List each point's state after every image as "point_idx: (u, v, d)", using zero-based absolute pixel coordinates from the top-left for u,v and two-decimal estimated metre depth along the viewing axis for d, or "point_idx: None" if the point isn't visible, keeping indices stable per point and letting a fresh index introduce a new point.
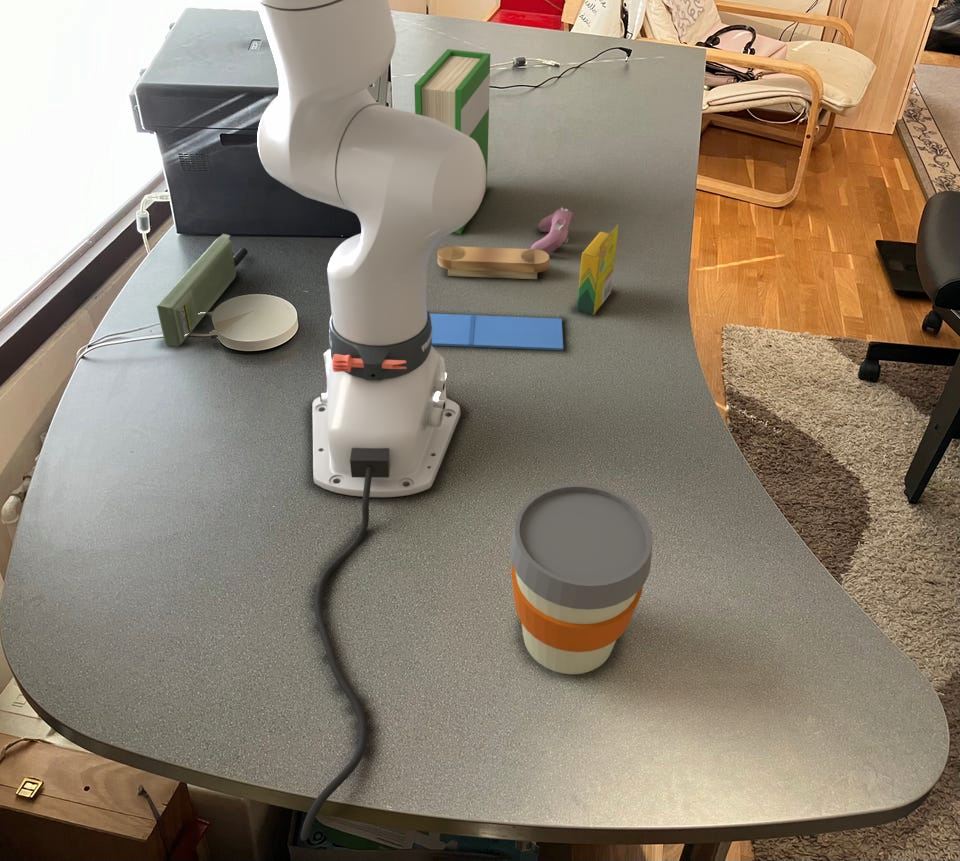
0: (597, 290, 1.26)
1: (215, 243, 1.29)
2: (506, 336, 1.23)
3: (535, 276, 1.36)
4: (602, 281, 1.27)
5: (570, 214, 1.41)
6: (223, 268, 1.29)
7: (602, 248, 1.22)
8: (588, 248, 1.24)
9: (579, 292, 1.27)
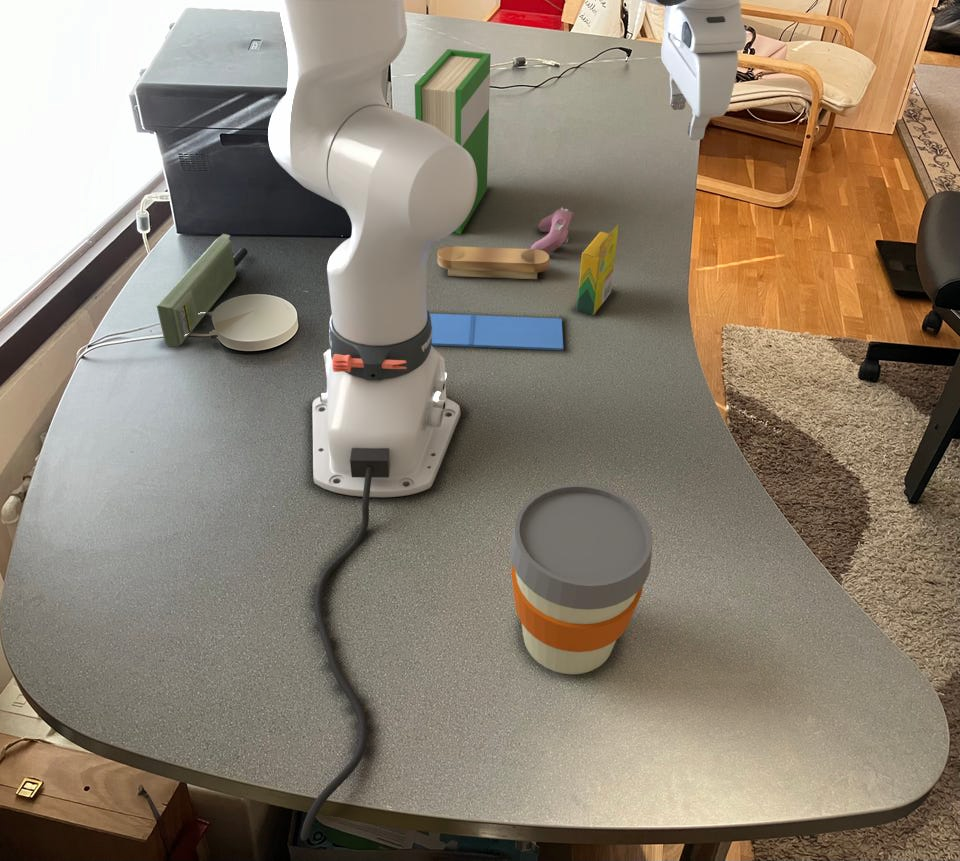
0: (597, 290, 1.26)
1: (215, 243, 1.29)
2: (506, 336, 1.23)
3: (535, 276, 1.36)
4: (602, 281, 1.27)
5: (570, 214, 1.41)
6: (223, 268, 1.29)
7: (602, 248, 1.22)
8: (588, 248, 1.24)
9: (579, 292, 1.27)
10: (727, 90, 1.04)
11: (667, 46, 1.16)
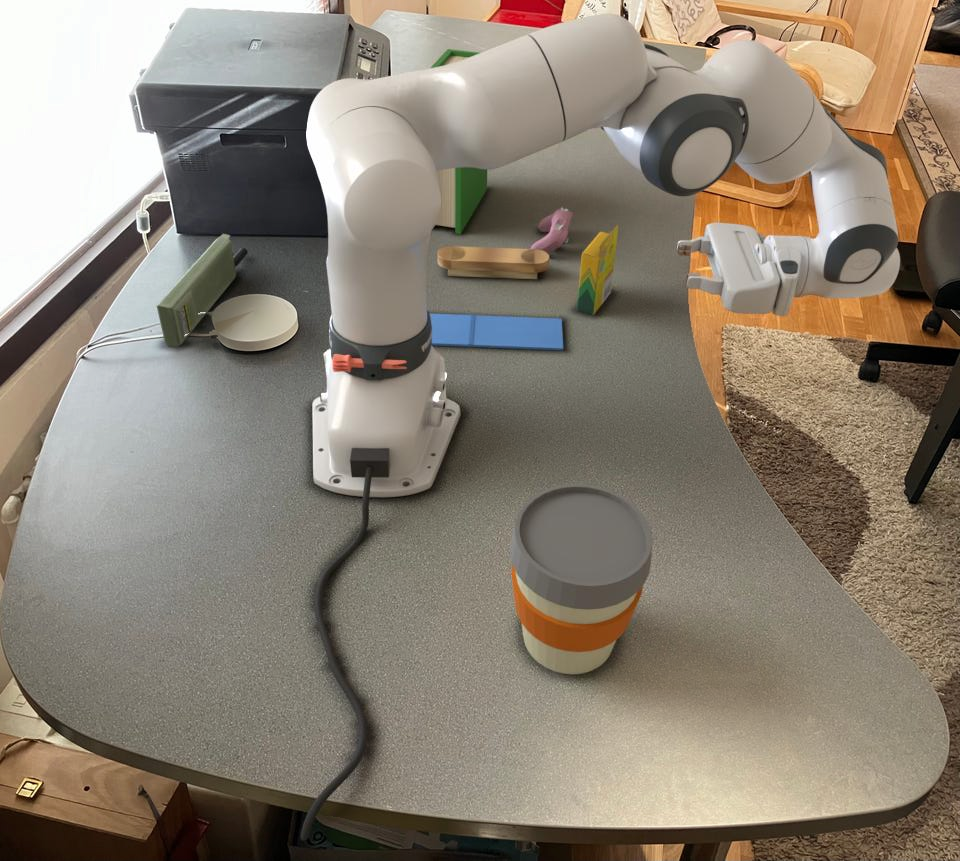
0: (597, 290, 1.26)
1: (215, 243, 1.29)
2: (506, 336, 1.23)
3: (535, 276, 1.36)
4: (602, 281, 1.27)
5: (570, 214, 1.41)
6: (223, 268, 1.29)
7: (602, 248, 1.22)
8: (588, 248, 1.24)
9: (579, 292, 1.27)
10: (750, 310, 1.20)
11: (729, 232, 1.30)
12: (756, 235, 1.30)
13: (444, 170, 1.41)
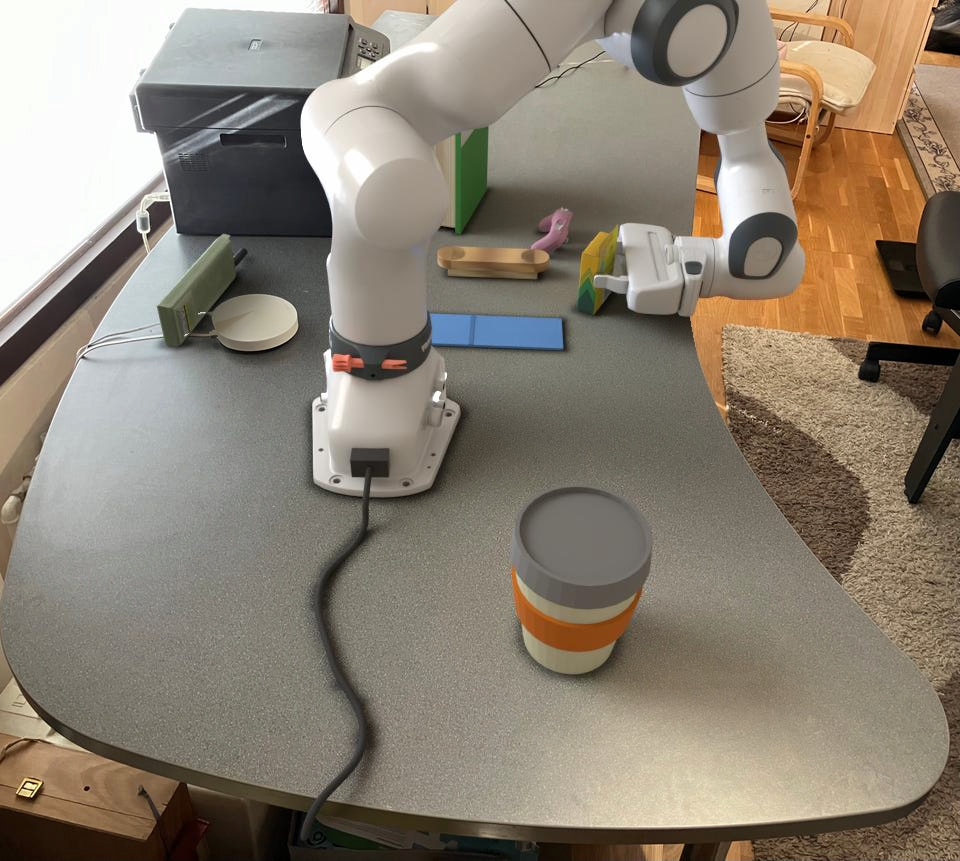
0: (597, 290, 1.26)
1: (215, 243, 1.29)
2: (506, 336, 1.23)
3: (535, 276, 1.36)
4: None
5: (570, 214, 1.41)
6: (222, 268, 1.29)
7: (602, 248, 1.22)
8: (588, 248, 1.24)
9: (579, 292, 1.27)
10: (654, 310, 1.20)
11: (641, 233, 1.31)
12: (668, 236, 1.30)
13: (444, 170, 1.41)
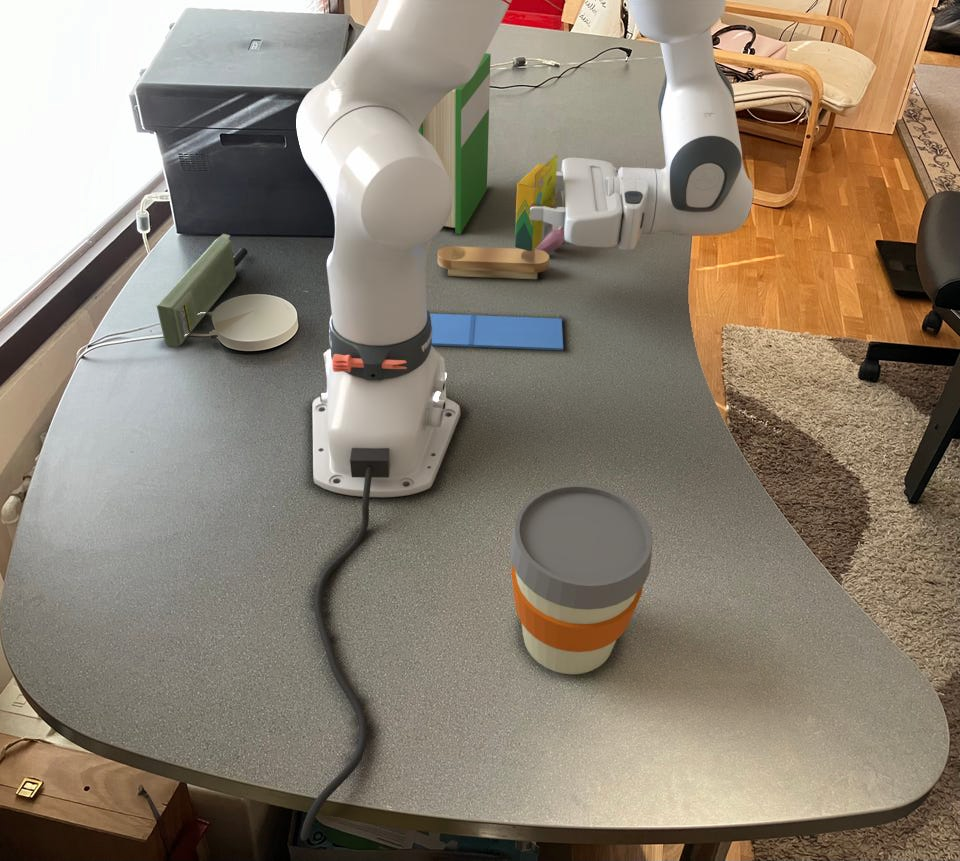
0: (535, 224, 1.20)
1: (215, 243, 1.29)
2: (506, 336, 1.23)
3: (535, 276, 1.36)
4: None
5: None
6: (222, 268, 1.29)
7: (538, 177, 1.16)
8: (524, 178, 1.18)
9: (516, 227, 1.21)
10: (591, 242, 1.14)
11: (584, 166, 1.24)
12: (611, 170, 1.24)
13: None
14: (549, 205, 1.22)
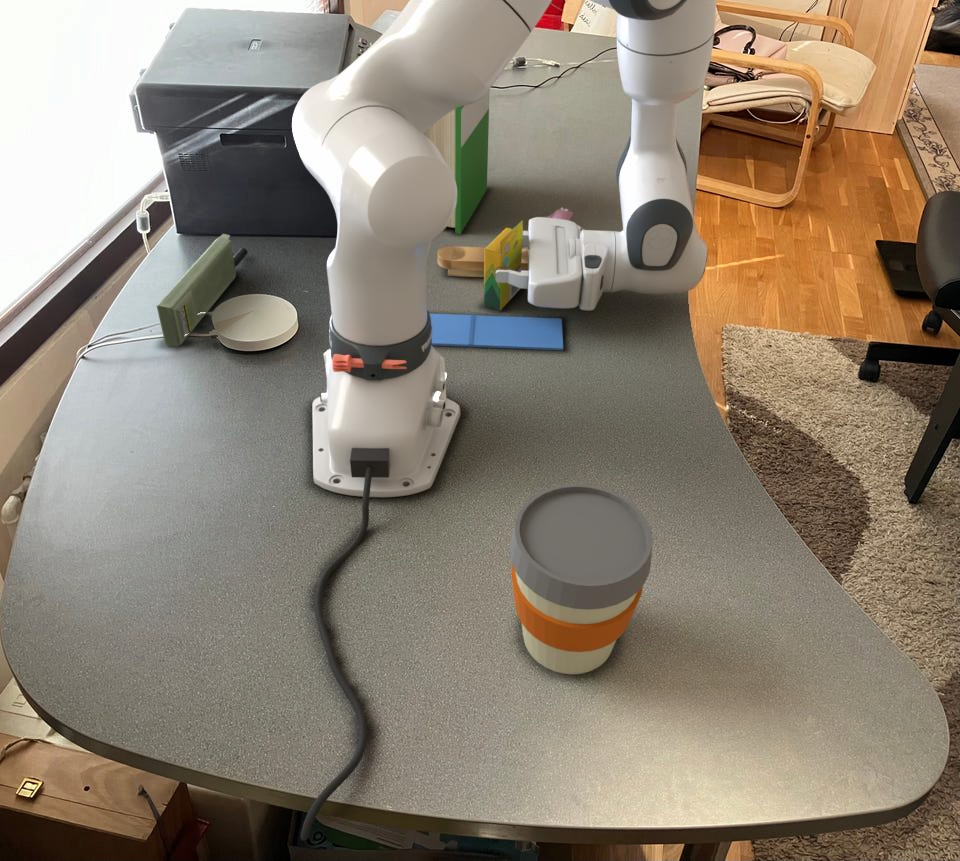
0: (502, 286, 1.27)
1: (215, 243, 1.29)
2: (506, 336, 1.23)
3: None
4: None
5: (570, 214, 1.41)
6: (222, 268, 1.29)
7: (504, 244, 1.23)
8: (491, 244, 1.24)
9: (485, 288, 1.28)
10: (553, 304, 1.20)
11: (549, 227, 1.31)
12: (575, 230, 1.30)
13: None
14: (516, 266, 1.29)
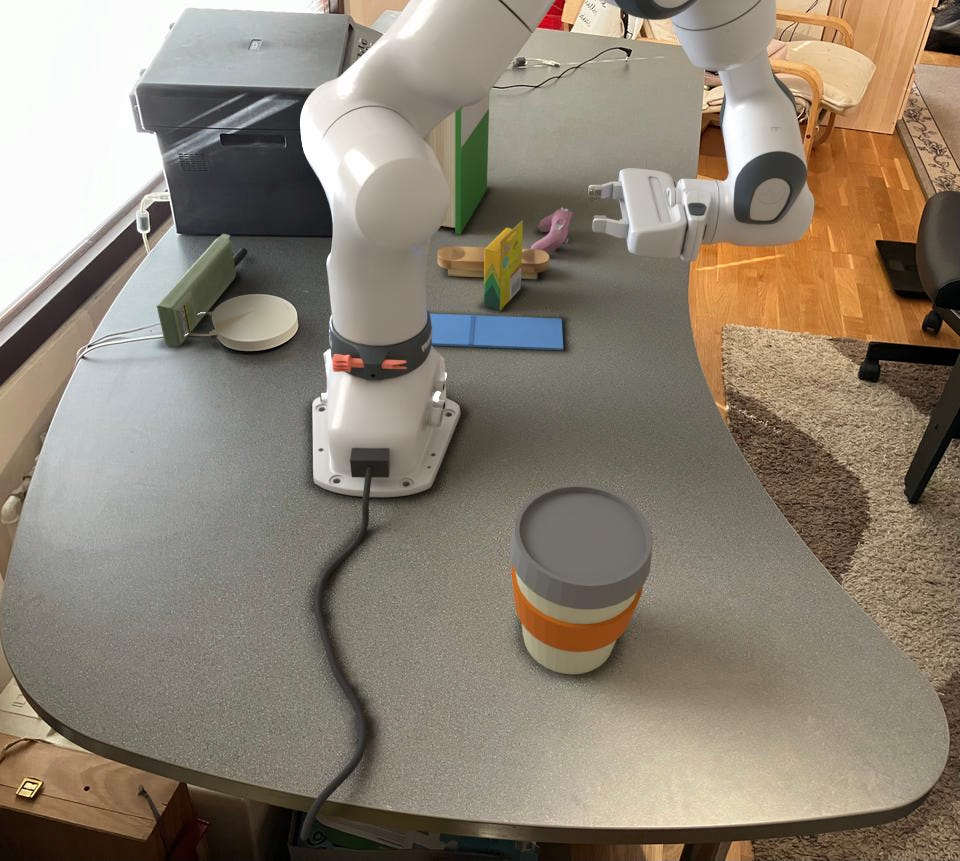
0: (502, 286, 1.27)
1: (215, 243, 1.29)
2: (506, 336, 1.23)
3: (535, 276, 1.36)
4: (508, 277, 1.28)
5: (570, 214, 1.41)
6: (222, 268, 1.29)
7: (504, 244, 1.23)
8: (491, 244, 1.24)
9: (485, 288, 1.28)
10: (655, 253, 1.15)
11: (642, 177, 1.25)
12: (670, 180, 1.24)
13: (444, 170, 1.41)
14: (516, 266, 1.29)
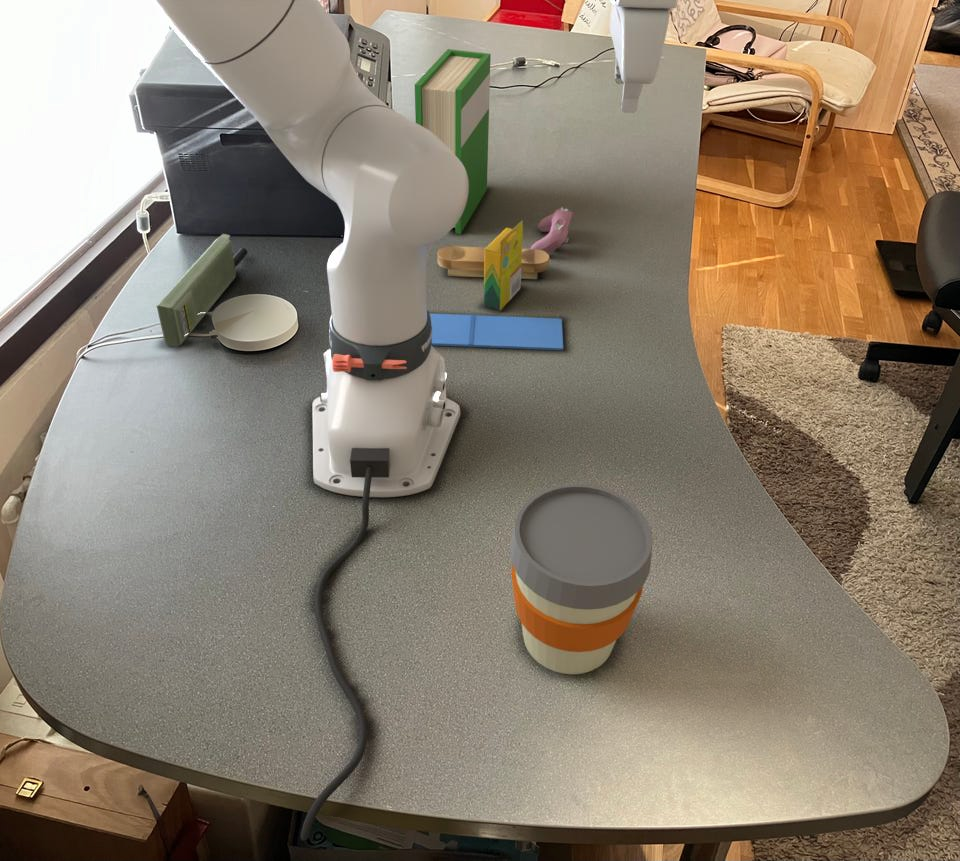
0: (502, 286, 1.27)
1: (215, 243, 1.29)
2: (506, 336, 1.23)
3: (535, 276, 1.36)
4: (508, 277, 1.28)
5: (570, 214, 1.41)
6: (222, 268, 1.29)
7: (504, 244, 1.23)
8: (491, 244, 1.24)
9: (485, 288, 1.28)
10: (655, 52, 0.92)
11: (613, 11, 1.05)
12: None
13: None
14: (516, 266, 1.29)
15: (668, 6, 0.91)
